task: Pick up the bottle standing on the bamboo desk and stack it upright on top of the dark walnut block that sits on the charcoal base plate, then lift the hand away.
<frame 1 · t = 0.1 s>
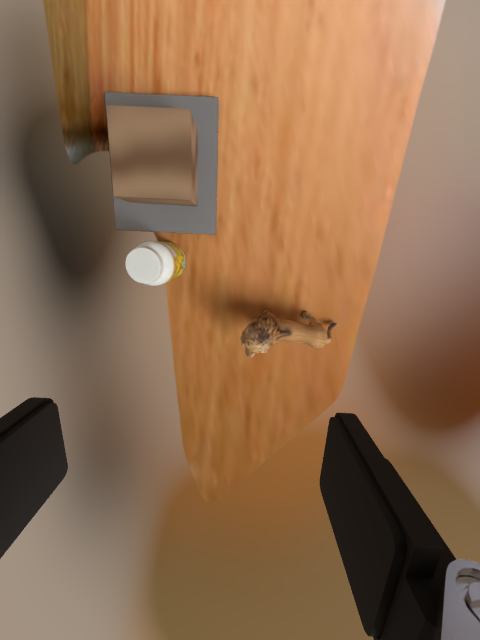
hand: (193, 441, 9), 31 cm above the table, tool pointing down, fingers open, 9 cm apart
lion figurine: (284, 325, 40), on the table
walnut block: (163, 167, 33), point 1 cm above the table, touching base plate
base plate: (165, 169, 34), on the table
supplement bottle: (168, 260, 38), on the table
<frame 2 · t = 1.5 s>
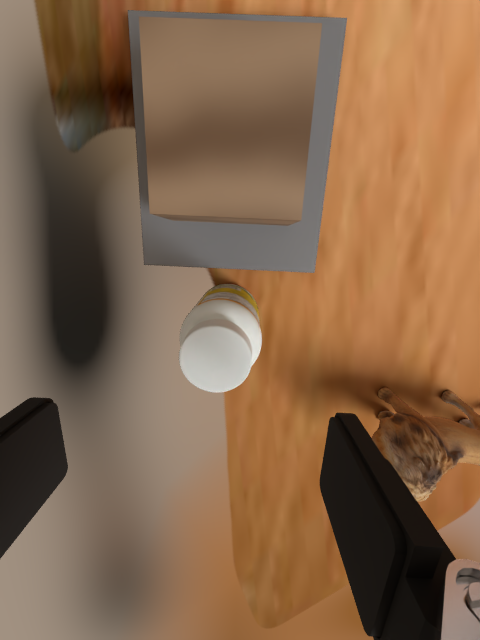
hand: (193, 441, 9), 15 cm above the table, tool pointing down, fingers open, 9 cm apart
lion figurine: (409, 409, 26), on the table
walnut block: (232, 157, 19), point 1 cm above the table, touching base plate
base plate: (232, 160, 19), on the table
supplement bottle: (228, 312, 23), on the table
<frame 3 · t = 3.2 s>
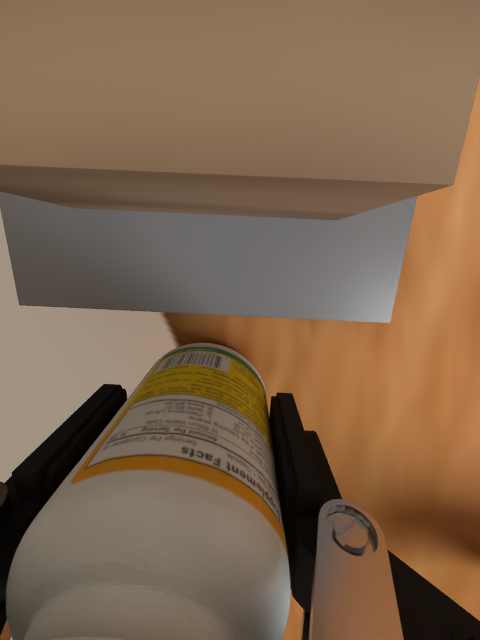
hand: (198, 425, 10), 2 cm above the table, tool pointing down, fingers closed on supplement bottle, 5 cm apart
walnut block: (205, 48, 7), point 1 cm above the table, touching base plate
base plate: (209, 67, 8), on the table
supplement bottle: (206, 393, 12), on the table, touching gripper
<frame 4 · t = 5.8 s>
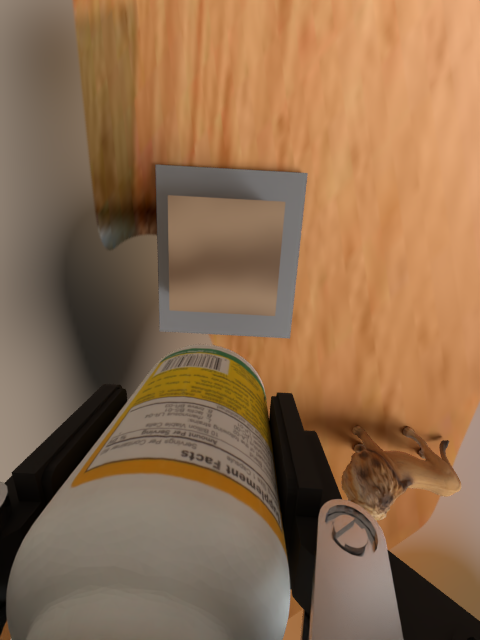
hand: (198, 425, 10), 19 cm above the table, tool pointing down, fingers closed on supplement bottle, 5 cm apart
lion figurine: (378, 442, 32), on the table
walnut block: (227, 258, 25), point 1 cm above the table, touching base plate
base plate: (228, 258, 26), on the table
supplement bottle: (206, 394, 12), point 16 cm above the table, touching gripper
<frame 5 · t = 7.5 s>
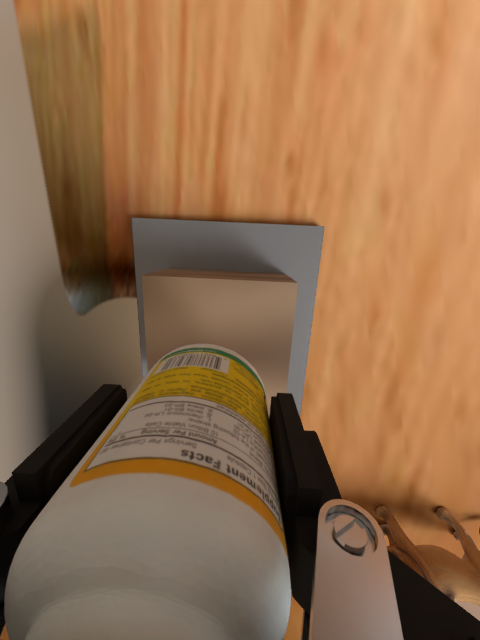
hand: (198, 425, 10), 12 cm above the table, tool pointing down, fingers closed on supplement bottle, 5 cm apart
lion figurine: (406, 521, 27), on the table
walnut block: (224, 327, 21), point 1 cm above the table, touching base plate
base plate: (225, 324, 21), on the table
supplement bottle: (206, 394, 12), point 10 cm above the table, touching gripper
when the fingers open (9 cm above the table, at t = 8.5 s): supplement bottle drops 1 cm, resting on walnut block.
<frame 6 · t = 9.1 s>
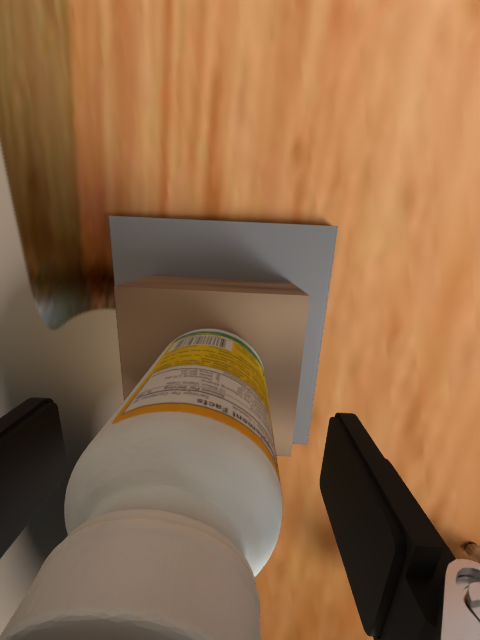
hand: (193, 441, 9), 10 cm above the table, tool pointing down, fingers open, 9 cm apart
walnut block: (219, 343, 18), point 1 cm above the table, touching base plate, supplement bottle
base plate: (220, 339, 18), on the table
supplement bottle: (211, 374, 13), point 6 cm above the table, touching walnut block
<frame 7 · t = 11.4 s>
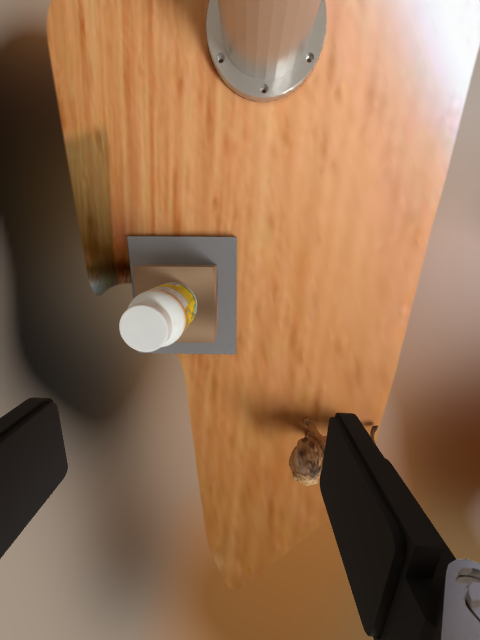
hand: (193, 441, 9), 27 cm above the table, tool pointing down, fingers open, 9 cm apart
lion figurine: (325, 429, 41), on the table
walnut block: (184, 298, 35), point 1 cm above the table, touching base plate, supplement bottle
base plate: (186, 297, 35), on the table
supplement bottle: (175, 304, 30), point 6 cm above the table, touching walnut block
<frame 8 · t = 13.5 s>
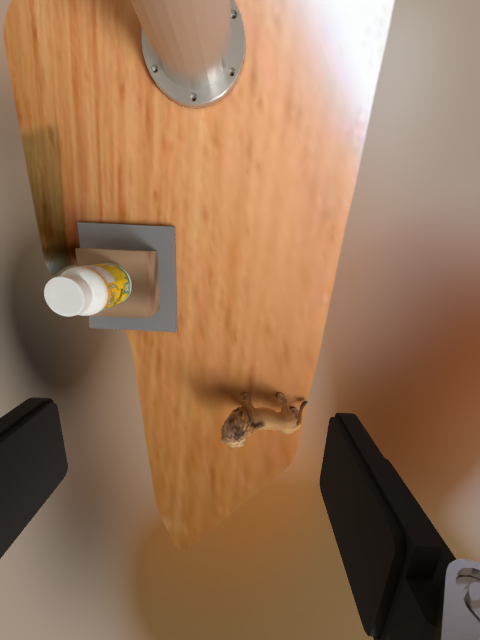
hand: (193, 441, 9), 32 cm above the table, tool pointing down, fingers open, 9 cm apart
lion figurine: (262, 404, 46), on the table
walnut block: (129, 280, 39), point 1 cm above the table, touching base plate, supplement bottle
base plate: (131, 279, 40), on the table
supplement bottle: (113, 283, 34), point 6 cm above the table, touching walnut block
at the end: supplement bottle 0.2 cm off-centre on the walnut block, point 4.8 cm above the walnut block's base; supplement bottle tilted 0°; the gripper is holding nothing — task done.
